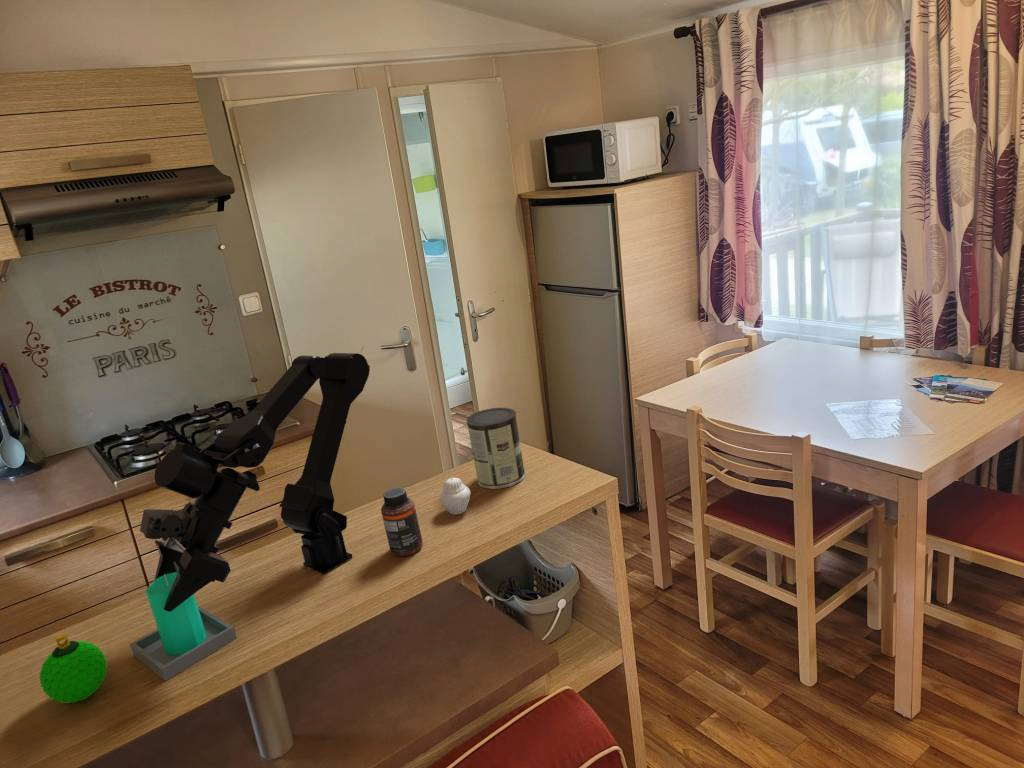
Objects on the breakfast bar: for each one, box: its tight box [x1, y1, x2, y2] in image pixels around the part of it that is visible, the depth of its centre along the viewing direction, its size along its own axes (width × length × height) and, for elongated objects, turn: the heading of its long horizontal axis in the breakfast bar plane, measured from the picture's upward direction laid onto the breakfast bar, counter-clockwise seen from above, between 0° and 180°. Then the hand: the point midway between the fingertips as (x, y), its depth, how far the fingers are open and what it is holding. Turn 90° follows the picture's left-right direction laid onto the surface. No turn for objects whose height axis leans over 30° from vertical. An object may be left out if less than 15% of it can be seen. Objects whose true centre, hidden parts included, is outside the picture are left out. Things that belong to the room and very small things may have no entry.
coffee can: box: [465, 407, 526, 490], centre depth 155 cm, size 10×10×14 cm
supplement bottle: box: [380, 487, 424, 557], centre depth 132 cm, size 6×6×11 cm
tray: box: [129, 605, 237, 682], centre depth 114 cm, size 11×11×2 cm
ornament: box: [39, 632, 108, 704], centre depth 104 cm, size 8×8×10 cm
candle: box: [145, 572, 206, 655], centre depth 112 cm, size 6×6×12 cm
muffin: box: [438, 477, 471, 516], centre depth 144 cm, size 6×6×7 cm
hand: (160, 602), depth 111 cm, fingers open, 6 cm apart
